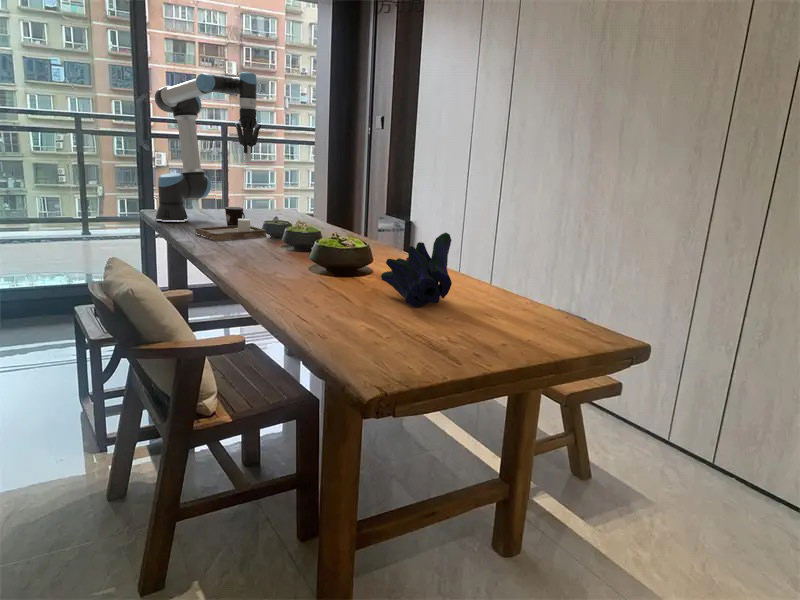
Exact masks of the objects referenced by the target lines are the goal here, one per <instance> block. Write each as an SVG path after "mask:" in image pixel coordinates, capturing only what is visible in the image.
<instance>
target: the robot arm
mask: <svg viewBox="0 0 800 600" xmlns="http://www.w3.org/2000/svg"><path fill="white" fill-rule="evenodd" d="M257 84H258V82H257V74H256V73H254V72H247V71H245V72H244V71H243V72H242V71H241V72H240V73H239V76H237V77H236V76H227V75H222V74H221V75H219V74H214V73H208V72H204V73H203V72H201V73H199V74H198V76H197V77H196V78H193V79H191V80H187V81H185V82H182V83H179V84H176V85H172V86H170V85H165V86H163V87H160V88H158V89H157V90H156V91H155V93H154V102H155V104H156V107H158V109H160V110H161V111H163V112H166V113H172V116H173V119H175V120H176V121H177V129H178V137H179V143H180V152H181V162H182V171H181V172H180V173H179V172H169V173H163V174H161V175H159V177H157V178H158V180H157V186H158V187H157V189H158V207H157V211H156V214H155V220H156V219H162V220H184V219H187V218H188V219H189V217H188V215H187V211H186V208H185V205H184V204H185V202H184V200H200V199H205V198H206V197H207V196H208V195H209V194H210V192H211V190H212V189H211V188H212V182H211V180H210V177H208V176H207V175H205V170H204V169H202V166H201V158H200V157H201V156H200V151H199V149H200V148H199V141H198V132H197V125H196V120H197V119H198V117H199V116H198V114H200V112H201V109H202V100H201V96H204V95H208V94H211V93H220V94H226V95H239V107H240V108H239V119H238V121H237V122H235V123H234V127H235V128H236V131H237V138H238V143H239V145H241V146H243V153H244V161H248V162H251V161H252V158H251V157H252V154H253V147H255V146H257V143H258V137H259V133H260V130H261V127H262V125H261V124H259V123H258V121H257V109H256V108H257V91H258V90H257V86H258V85H257Z"/></svg>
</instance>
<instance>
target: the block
mask: <svg viewBox="0 0 800 600" xmlns="http://www.w3.org/2000/svg"><path fill="white" fill-rule="evenodd" d="M250 226H251V219H250V218H245V219H243V218H242V219H238V230H239V231H250Z"/></svg>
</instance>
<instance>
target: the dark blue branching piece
mask: <svg viewBox="0 0 800 600" xmlns="http://www.w3.org/2000/svg"><path fill="white" fill-rule="evenodd" d="M451 244H452V238H451V234H449V233H448V232H444V233H442V234H440V235H438V236H437V237H435V240H434V242H433V244H432V245H433V247H432V252H431V256H430V254H429V253H428V251H427V248H426V245H425V243H424V242H422V241H419V242H417V244H416V246H415V247H414V246H413V245H409V246H408V247H407V253H408V254H407V255H408V257H406V259H404V258H397V259H394V258H387V259H386V261H385V264H386V265H387V266H388V267H389V269H390V270H388V271H385V272H382V273H381V275H380V277H381V281H383V282H385V283H387V284H388V285H390V286H391V287H392V288H393V289H394V290H395V291H397V293H398V294H399V295H400V296H401V297H402V298H403V299H404V300H405V303H406V304H408V305H410V306H411V307H413V308H415V309H417V308H421V307H423V306H425V305H427V304H429V303H432V304H434V305H435V304H438V303H439V301H440V298H441V299H445V298H446V297H447V295H448V294H449V292H450V291H451V287H452V284H453V282H452V279H451V277H450V274H449V272H448V260H449V259H448V257H449V252H450V247H451Z"/></svg>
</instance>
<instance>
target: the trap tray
mask: <svg viewBox="0 0 800 600" xmlns="http://www.w3.org/2000/svg"><path fill="white" fill-rule="evenodd" d="M196 233H197V234H200V235H203V236H206V237H208V238H211V239H213V240H212V241H214V240H220V241H226V240H225V239H232V240H239V239H238V238H244V239H251V237H256V238H262V237H261V236H266V237H267V230H266V229H263V228H260V227H256V226H253V225H250V231H239V230H238V225H235V226H227V225H223V226H222V225H221V226H206V227H196V228H195V234H196ZM211 239H210V240H211Z"/></svg>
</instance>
